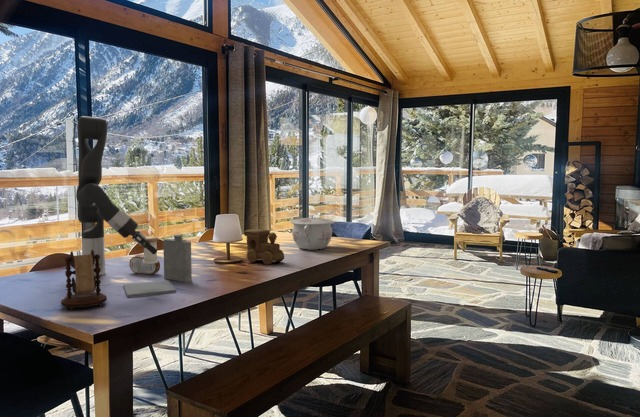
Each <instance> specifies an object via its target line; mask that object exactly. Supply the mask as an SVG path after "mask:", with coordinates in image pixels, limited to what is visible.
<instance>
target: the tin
mask: <svg viewBox="0 0 640 417" xmlns="http://www.w3.org/2000/svg"><path fill="white" fill-rule="evenodd" d="M143 260H144V254H143V255H142V254H138V255H135V256H133V257H131V259H129V268H130V270H131V272H133V273H134V274H141V275H143V274H144V275H155V274H157V273H158V272H160V270H161V264H160V261H159V259H158V258H157V260H158V263H153V264H144V263H143Z"/></svg>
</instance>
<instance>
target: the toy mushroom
mask: <svg viewBox="0 0 640 417" xmlns="http://www.w3.org/2000/svg"><path fill="white" fill-rule="evenodd" d="M145 237H146V239H147V241H148V242H149V243H150V244H151V245H152V246H153V247H154V248H155V249H157V250H158V247H157V246H158V245H157V242H158V241H159V237H158V236H145ZM146 243H147V242H145V243H144V245H145V244H146ZM157 252H158V251H157ZM157 252H156V253H155V254H152V253H151V252H150V251H149V250H148V249H146V248H144V247H143V256H144V260H143V263H144V264H153V263H158V261H159V259H158V253H157ZM157 259H158V260H157Z"/></svg>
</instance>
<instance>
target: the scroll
mask: <svg viewBox="0 0 640 417" xmlns="http://www.w3.org/2000/svg"><path fill="white" fill-rule="evenodd" d="M69 253H70V254H69V256H67V257H65V259H64V261H65V265H66V266H65V272H64V274H65V276H66V280H65V282H66V285H65V287H66V291H67V292H66V296H65V297H64V298H62V299H61V300H60V305H61V306H62V307H65V308H69V309H70V311H71V312H74V310H75V308H85V307H92V306H97V305H99V306H100V307H103V306H104V303H105V302H106V301H108V298H107V295H106V294H104V293H102V291H101V283H102V281H101V280H100V279H101V275H99V273H100V271H101V269H100V267H99V266H100V264H99V261H100V260H98V259H100V255H98V254H96V255H95V254H94V251H93V250H91V254H88V255H83V254H79V255H74V252H73V250H72V251H70V252H69ZM95 259H96V260H95ZM95 261H96V263H95ZM94 264H95V266H96V267H95V268H93V265H94ZM71 268H73V269H74V270H73V271H72V270H71ZM94 272H96V276H95V275H94ZM73 275H74V276H73ZM72 276H73V277H72ZM71 277H72V278H71Z"/></svg>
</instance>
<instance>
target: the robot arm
mask: <svg viewBox="0 0 640 417" xmlns="http://www.w3.org/2000/svg"><path fill="white" fill-rule="evenodd" d="M107 137H108V121H107V119H105V118H102V117H97V116H96V117H94V116H87V115H86V116H85V115H82V116H80V117H79V118H78V120H77V139H78V142H77V143H78V168H77V169H78V171H77V172H78V173H77V174H78V178H77V179H78V185H77V189H76V193H75V198H76V201H77V219H78V221H79V223H82V224H90V223H92V224H93V223H95V225H94V226H92V227H90V228H87V229H86V230H83V231H82V232H81V244H82V248H81V250H82V255H88V254H91V250H93V251H94V254H95V255H96V254H98V255H100V259H98V260H100V261H99V264H100V266H99V267H100V269H101V271H100V273H99V275H100V276H102V275H105V274H106V257H105V256H106V253H105V252H106V249H105V248H106V246H105V228H104V227H105V226H104V225H105V224H104V223H105V222H106V223H107V224H108V225H109V226H110V227H111V229H113V230H114V231H116V232H117V233H118V234H119V235H120V236H121V237H122V238H124V239H126V238H128V237H129V236H131V239H132V240H133V241H134V242H136V243H137V244H139V246H140V247H141V246H142V247H143V249H144V248H146V249H148V250H149V251H150V252H151V253H152V254H155V253H156V252H158V248H157V249H155V248H154V247H153V246H152V245H151V244H150V243H149V242H148V241H147V239H146V237H147V236H144V234H143V233H142V232H141V231H140V230H136V229H137V228H138V226H139V224H138V222H136V221H135V220H134V219H133V218H132V217H131V216H129V214H127V213H126V212H125V211H123V210H121V209H120V208H119V206H117V205H116V204H114V203H113V201H112V200H111V198H110V197H109V196H108V194H107V193H106V192H105V190H104V189H103V188H102V187H101V186H100V184H101V182H102V177H103V167H102V160H103V158H104V157H103V156H104V152H105V148H106V142H107ZM88 140H92V141H93V140H94V141H96V143H95V145H94V146H93V147H92V149H91V147H90V145H89V143H88ZM145 242H147V243H146V244H145V245H144V243H145ZM95 260H96V259H95ZM95 263H96V261H95ZM95 267H96V266H95V264H94V265H93V268H95ZM94 275H95V277H96V272H94Z"/></svg>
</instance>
